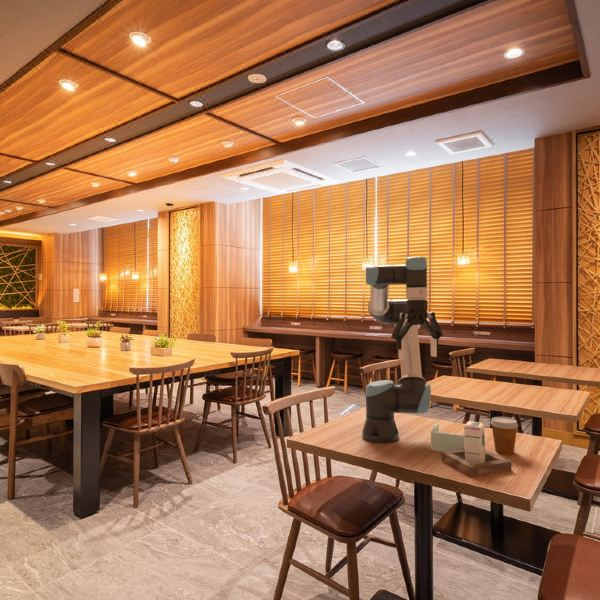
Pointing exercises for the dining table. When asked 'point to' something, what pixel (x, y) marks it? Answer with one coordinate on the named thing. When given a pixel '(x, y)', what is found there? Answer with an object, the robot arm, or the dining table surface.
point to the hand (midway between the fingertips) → (417, 357)
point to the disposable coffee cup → (504, 434)
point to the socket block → (489, 467)
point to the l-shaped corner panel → (446, 440)
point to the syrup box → (474, 442)
